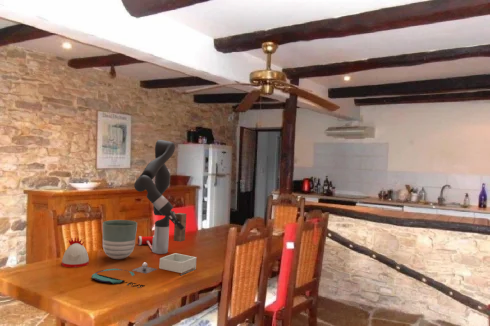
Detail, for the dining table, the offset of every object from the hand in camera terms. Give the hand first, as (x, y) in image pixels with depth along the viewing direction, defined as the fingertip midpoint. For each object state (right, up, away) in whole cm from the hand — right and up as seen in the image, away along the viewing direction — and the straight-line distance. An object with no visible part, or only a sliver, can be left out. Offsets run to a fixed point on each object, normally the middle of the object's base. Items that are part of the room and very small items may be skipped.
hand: (183, 227), depth 225 cm
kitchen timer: (-60, -21, 0) cm, 64 cm away
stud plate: (-20, -23, -7) cm, 31 cm away
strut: (-2, -7, 0) cm, 7 cm away
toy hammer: (-31, -22, +51) cm, 63 cm away
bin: (-3, -24, 0) cm, 24 cm away
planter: (-42, -21, +17) cm, 50 cm away
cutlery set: (-28, -24, -21) cm, 42 cm away
